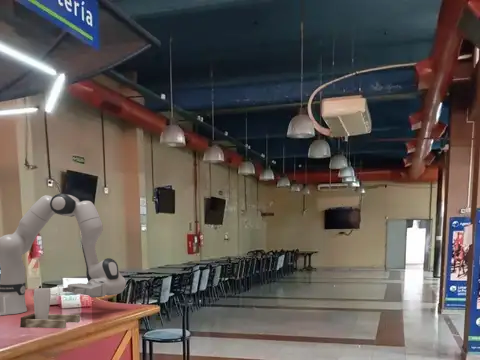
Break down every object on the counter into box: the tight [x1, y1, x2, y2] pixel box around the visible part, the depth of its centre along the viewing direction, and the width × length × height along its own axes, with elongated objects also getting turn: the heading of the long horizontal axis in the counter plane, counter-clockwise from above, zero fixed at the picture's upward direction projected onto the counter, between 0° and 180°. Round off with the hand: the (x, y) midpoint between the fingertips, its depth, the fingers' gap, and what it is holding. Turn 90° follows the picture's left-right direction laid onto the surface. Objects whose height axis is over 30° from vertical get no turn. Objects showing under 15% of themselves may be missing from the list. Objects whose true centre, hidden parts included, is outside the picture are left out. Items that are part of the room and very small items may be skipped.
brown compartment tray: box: [19, 312, 81, 329], centre depth 197 cm, size 20×13×4 cm, turn 81°
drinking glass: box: [33, 287, 51, 320], centre depth 198 cm, size 7×7×15 cm
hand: (68, 291), depth 208 cm, fingers open, 8 cm apart
